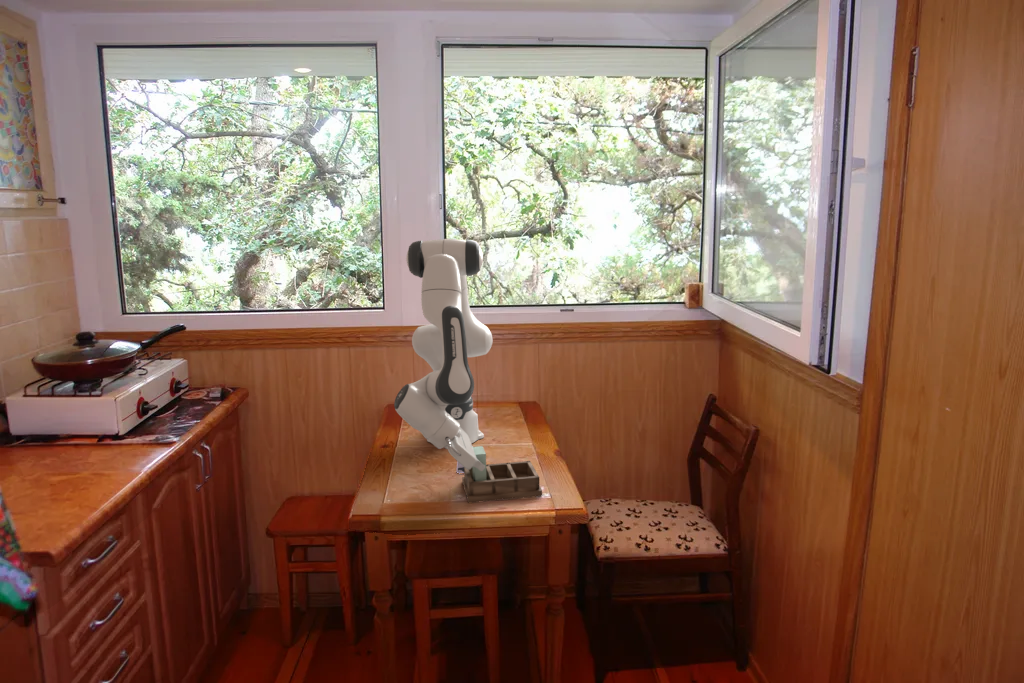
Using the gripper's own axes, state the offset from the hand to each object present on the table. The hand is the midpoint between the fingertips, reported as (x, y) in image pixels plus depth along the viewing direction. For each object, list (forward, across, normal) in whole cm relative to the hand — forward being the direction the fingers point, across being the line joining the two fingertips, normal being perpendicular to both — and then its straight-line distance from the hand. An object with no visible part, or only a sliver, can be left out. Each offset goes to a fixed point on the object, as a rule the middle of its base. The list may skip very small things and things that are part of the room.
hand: (481, 463), depth 195 cm
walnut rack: (+9, 0, +2) cm, 10 cm away
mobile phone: (+6, +20, +7) cm, 22 cm away
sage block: (+3, 0, +4) cm, 5 cm away
